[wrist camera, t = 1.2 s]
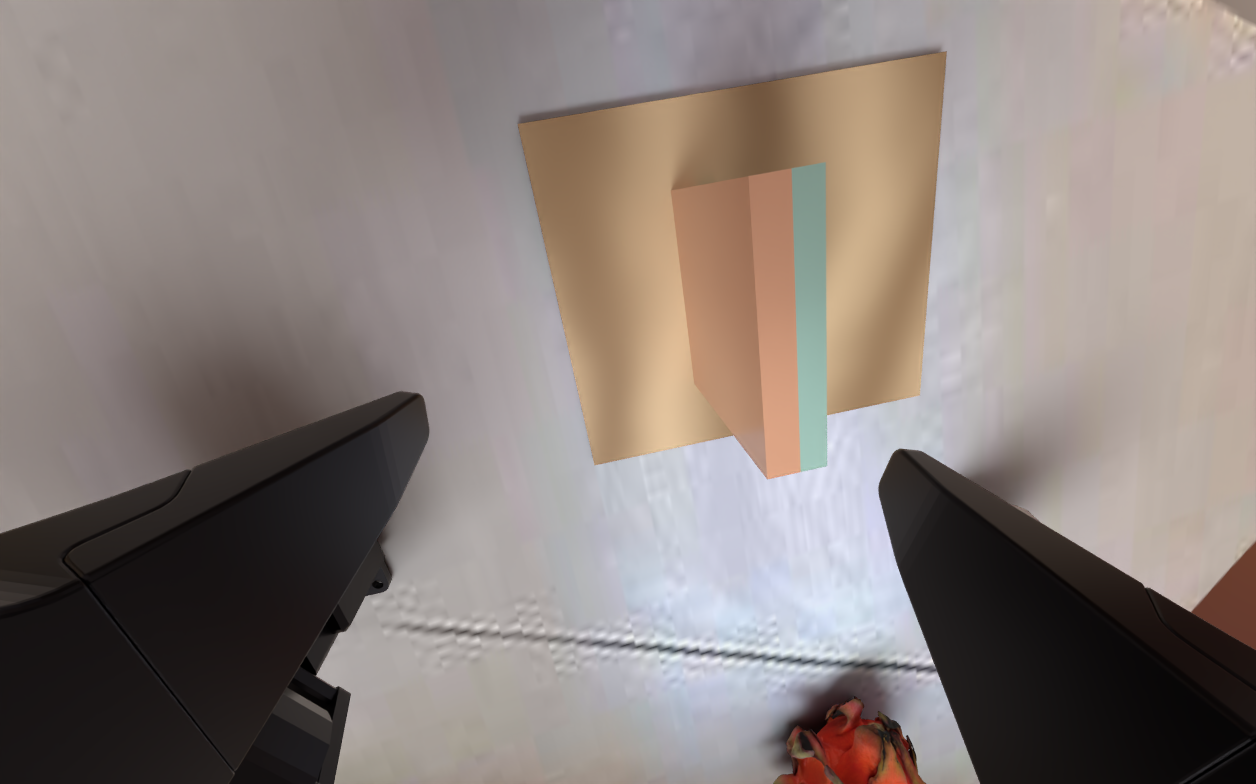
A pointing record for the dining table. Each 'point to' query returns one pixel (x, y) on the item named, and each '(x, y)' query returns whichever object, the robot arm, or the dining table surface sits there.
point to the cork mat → (717, 151)
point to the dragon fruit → (851, 751)
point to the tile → (760, 310)
